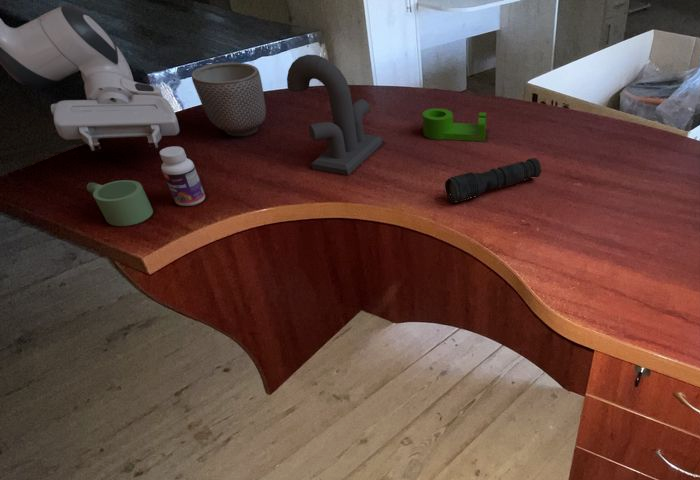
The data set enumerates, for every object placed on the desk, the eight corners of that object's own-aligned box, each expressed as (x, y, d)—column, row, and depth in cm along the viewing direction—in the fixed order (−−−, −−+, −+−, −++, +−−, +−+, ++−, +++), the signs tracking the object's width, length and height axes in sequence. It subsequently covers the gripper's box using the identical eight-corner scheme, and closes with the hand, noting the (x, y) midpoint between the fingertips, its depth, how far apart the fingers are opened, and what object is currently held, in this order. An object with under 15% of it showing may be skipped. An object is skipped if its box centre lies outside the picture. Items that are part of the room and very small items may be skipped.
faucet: (323, 131, 128) (305, 38, 114) (383, 142, 125) (373, 48, 112) (280, 163, 115) (255, 63, 102) (347, 176, 113) (330, 74, 99)
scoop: (162, 211, 100) (151, 185, 96) (126, 230, 95) (113, 204, 91) (116, 195, 103) (104, 170, 100) (79, 213, 98) (65, 187, 95)
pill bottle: (168, 204, 102) (147, 155, 95) (187, 191, 106) (168, 142, 99) (194, 208, 101) (174, 159, 94) (211, 195, 105) (194, 146, 98)
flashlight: (444, 197, 108) (443, 173, 105) (527, 174, 117) (529, 152, 114) (457, 208, 105) (456, 184, 102) (541, 183, 114) (543, 161, 111)
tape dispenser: (421, 138, 128) (420, 119, 125) (425, 126, 133) (424, 107, 130) (484, 141, 128) (485, 122, 125) (485, 129, 133) (486, 110, 130)
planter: (216, 120, 130) (197, 62, 121) (276, 118, 133) (262, 61, 124) (205, 144, 121) (184, 83, 112) (270, 141, 123) (254, 82, 114)
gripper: (43, 86, 101) (51, 135, 95) (167, 86, 110) (181, 130, 105) (55, 116, 106) (63, 163, 100) (173, 113, 115) (186, 156, 110)
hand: (125, 146), depth 103 cm, fingers open, 8 cm apart
